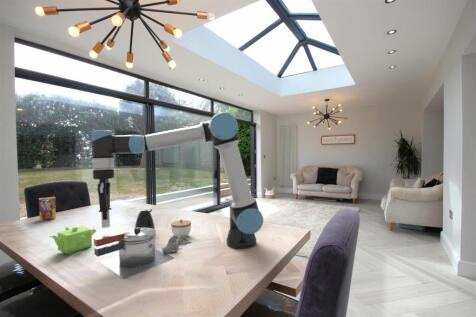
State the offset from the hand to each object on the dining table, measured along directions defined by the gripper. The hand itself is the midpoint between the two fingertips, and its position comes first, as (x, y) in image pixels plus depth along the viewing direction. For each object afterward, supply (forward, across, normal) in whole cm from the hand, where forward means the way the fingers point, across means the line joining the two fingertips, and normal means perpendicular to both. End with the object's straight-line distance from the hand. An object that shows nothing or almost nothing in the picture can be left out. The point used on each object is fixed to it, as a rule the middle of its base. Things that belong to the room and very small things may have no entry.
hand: (105, 226), depth 98 cm
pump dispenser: (+17, -32, +13) cm, 38 cm away
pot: (+15, +2, +8) cm, 17 cm away
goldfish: (+17, -10, +29) cm, 35 cm away
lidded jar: (+17, -25, +32) cm, 44 cm away
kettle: (+16, -23, -18) cm, 33 cm away
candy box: (+15, -94, -52) cm, 108 cm away
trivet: (+17, 0, +11) cm, 20 cm away
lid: (+5, +2, +8) cm, 10 cm away
